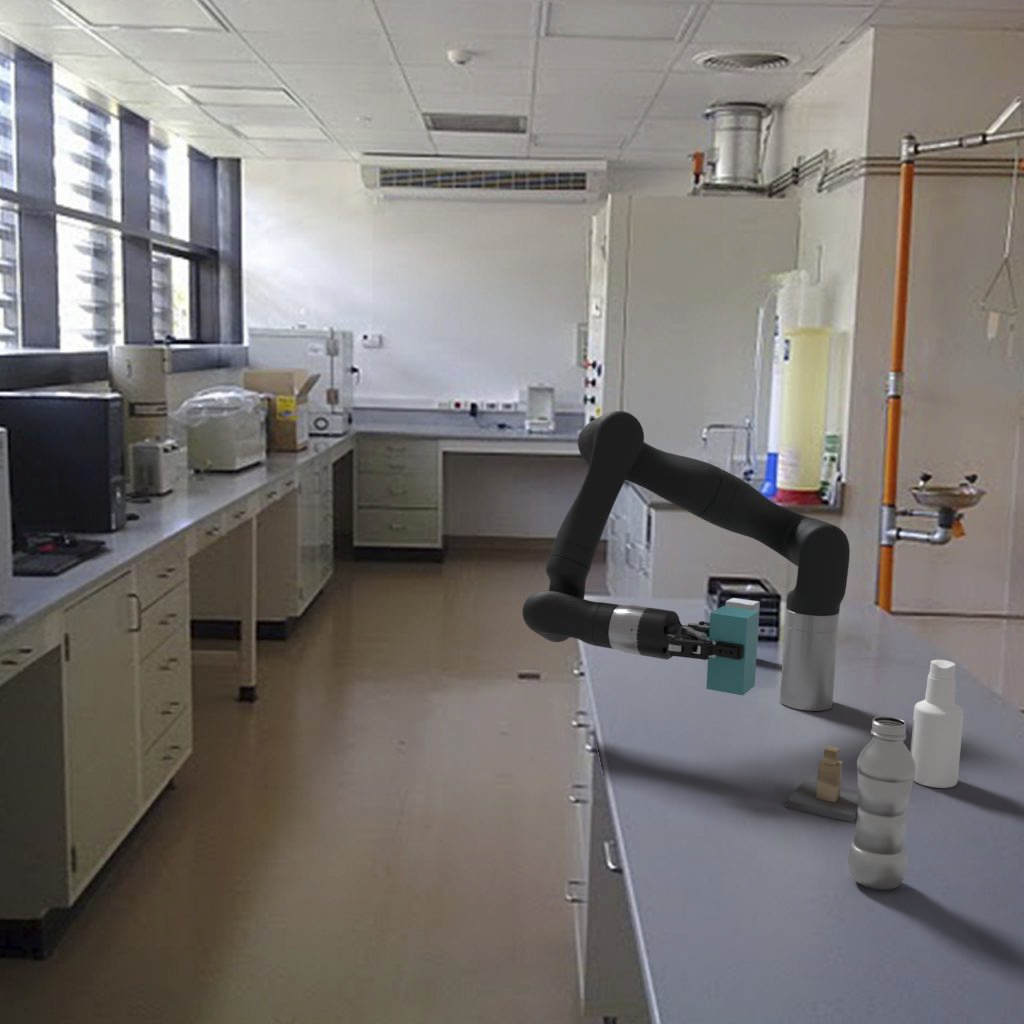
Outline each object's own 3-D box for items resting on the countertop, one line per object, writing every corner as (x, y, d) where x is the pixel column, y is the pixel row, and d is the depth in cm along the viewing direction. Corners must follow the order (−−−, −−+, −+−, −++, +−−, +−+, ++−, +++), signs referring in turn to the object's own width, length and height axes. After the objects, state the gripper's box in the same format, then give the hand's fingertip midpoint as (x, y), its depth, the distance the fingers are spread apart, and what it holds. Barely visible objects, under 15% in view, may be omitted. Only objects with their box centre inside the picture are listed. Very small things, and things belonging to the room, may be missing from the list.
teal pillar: (719, 679, 172) (723, 605, 170) (754, 686, 169) (759, 611, 167) (706, 688, 167) (710, 612, 165) (742, 695, 164) (747, 618, 162)
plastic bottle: (838, 871, 136) (850, 712, 133) (891, 870, 136) (905, 712, 133) (858, 897, 129) (871, 730, 126) (915, 896, 130) (929, 730, 127)
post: (804, 786, 162) (808, 733, 161) (867, 800, 158) (872, 745, 157) (786, 807, 155) (790, 751, 153) (852, 822, 150) (857, 765, 149)
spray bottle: (956, 775, 168) (966, 659, 166) (958, 792, 162) (969, 671, 159) (908, 769, 171) (918, 654, 168) (908, 784, 164) (918, 665, 162)
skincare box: (757, 658, 231) (760, 601, 229) (749, 662, 228) (753, 605, 226) (729, 653, 234) (732, 597, 233) (721, 657, 231) (725, 600, 229)
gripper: (626, 616, 167) (735, 633, 159) (662, 599, 180) (766, 614, 171) (624, 665, 168) (732, 684, 160) (660, 644, 181) (763, 661, 172)
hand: (749, 647), depth 166 cm, fingers closed on teal pillar, 5 cm apart
